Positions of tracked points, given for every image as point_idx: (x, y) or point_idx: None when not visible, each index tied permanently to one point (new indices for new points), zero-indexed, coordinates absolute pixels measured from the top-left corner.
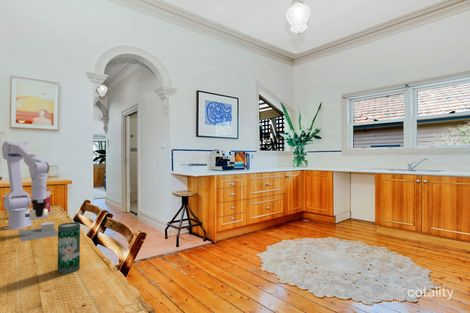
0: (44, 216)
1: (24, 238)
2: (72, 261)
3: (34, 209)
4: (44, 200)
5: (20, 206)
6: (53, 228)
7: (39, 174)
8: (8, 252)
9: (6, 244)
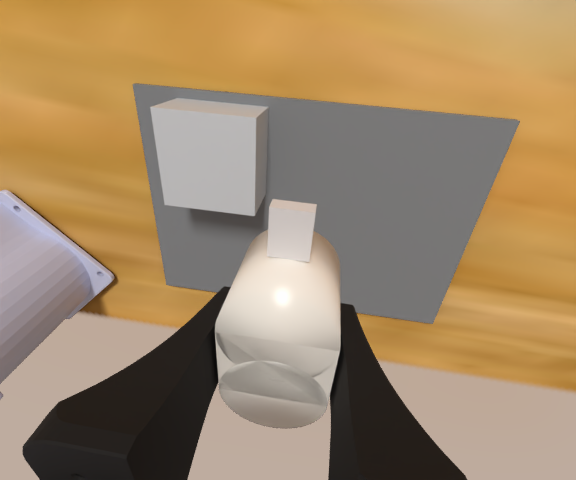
0: (338, 276)
1: (381, 300)
2: None
3: (214, 389)
4: (136, 448)
5: None
6: (265, 114)
7: None
8: (572, 381)
9: (409, 360)
